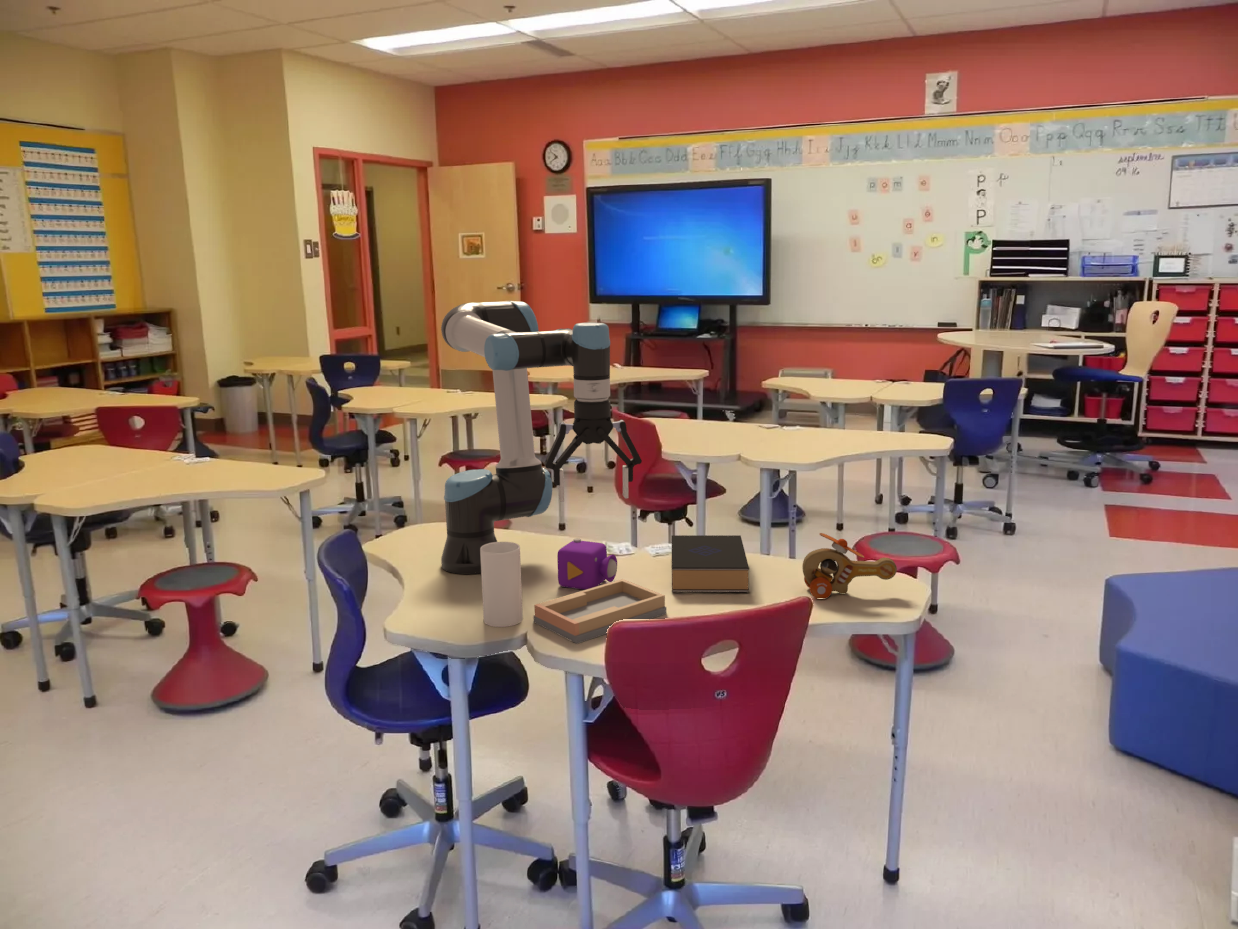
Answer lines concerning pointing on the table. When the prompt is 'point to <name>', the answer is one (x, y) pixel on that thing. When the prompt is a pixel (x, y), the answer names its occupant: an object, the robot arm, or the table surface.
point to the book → (709, 563)
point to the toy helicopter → (840, 568)
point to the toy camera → (585, 565)
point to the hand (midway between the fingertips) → (593, 498)
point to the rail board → (598, 609)
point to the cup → (501, 584)
